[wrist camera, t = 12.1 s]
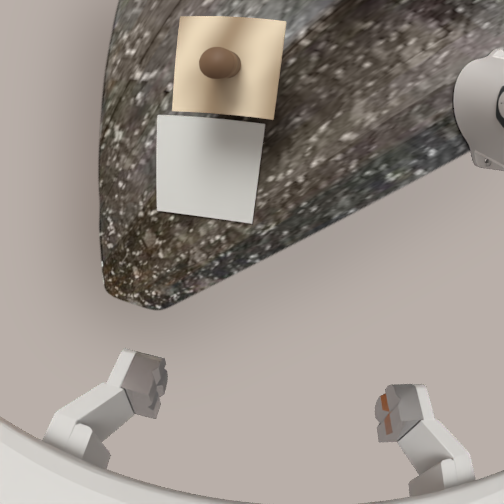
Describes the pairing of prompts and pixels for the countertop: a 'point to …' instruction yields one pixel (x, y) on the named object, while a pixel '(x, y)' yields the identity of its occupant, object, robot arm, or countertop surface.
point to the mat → (208, 166)
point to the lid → (228, 65)
